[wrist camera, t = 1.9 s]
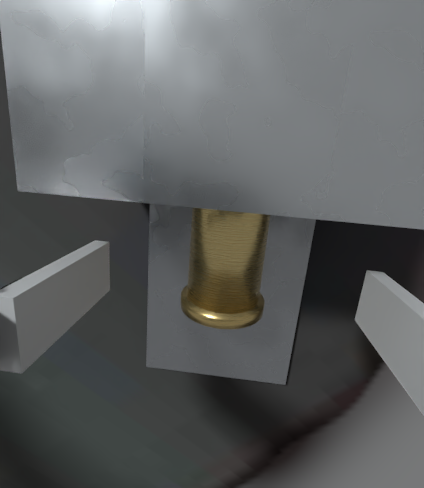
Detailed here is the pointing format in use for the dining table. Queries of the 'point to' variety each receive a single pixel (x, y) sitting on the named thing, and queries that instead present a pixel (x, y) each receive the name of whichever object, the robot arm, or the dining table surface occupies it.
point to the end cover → (225, 268)
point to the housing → (222, 136)
